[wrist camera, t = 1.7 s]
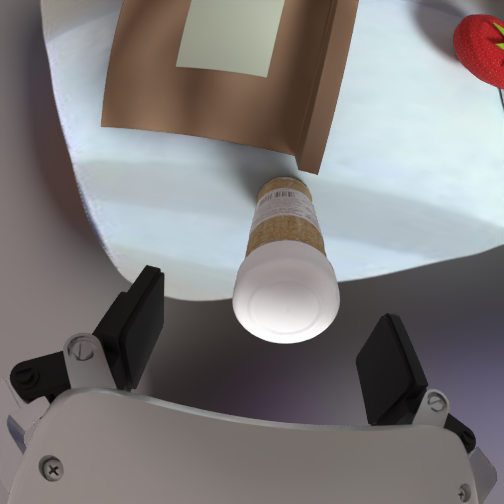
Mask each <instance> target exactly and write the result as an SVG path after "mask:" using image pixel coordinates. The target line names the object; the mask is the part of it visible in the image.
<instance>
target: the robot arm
mask: <svg viewBox="0 0 504 504" xmlns="http://www.w3.org/2000/svg"><path fill="white" fill-rule="evenodd" d="M501 93H502V98H503V103H504V90H503V89H501ZM163 323H164V273H162V272H161V270H160V268H157V267H153V266H148V265H146V266H145V268H144V269H143V271H142V272H141V273H140V275H139V276H138V278H137V279H136V280H135V282H134V283H133V285H132V286H131V288H130V289H129V290H128V292H121V293H120V294H119V295H118V297H117V298H116V300H115V301H114V302H113V304H112V305H111V307H110V308H109V310H108V311H107V313H106V314H105V315H104V317H103V318H102V320H101V321H100V323H99V324H98V326H97V327H96V329H95V331H94V332H93V333H92V334H89V333H78V334H75V335H73V336H71V337H69V338H68V339H67V340H66V342H65V344H64V346H63V351H60V352H57V353H53V354H49V355H46V356H42V357H39V358H35V359H31V360H27V361H23V362H21V363H18V364H17V365H16V366H15V367H14V368H13V369H12V371H11V374H10V378H9V379H7V380H5V379H4V378H3V379H1V380H0V481H1V482H2V484H3V486H4V487H5V489H6V490H7V492H8V493H9V495H10V496H9V499H8V503H7V504H482V503H483V502H484V500H485V499H486V497H487V496H488V494H489V493H490V491H491V490H492V488H493V487H494V485H495V483H496V481H497V471H496V469H495V468H494V466H493V465H492V464H491V463H490V461H489V460H488V458H487V457H486V456H485V455H484V453H483V452H482V451H481V450H480V448H479V447H476V448H475V444H476V438H475V436H474V434H473V432H472V431H471V430H470V429H469V428H468V427H466V426H465V425H464V424H463V423H461V422H460V421H458V420H457V419H456V418H455V417H453V416H452V415H451V414H449V413H448V412H449V401H448V399H447V398H446V396H445V395H444V394H443V393H442V392H440V391H438V390H436V389H430V390H428V391H427V390H426V387H427V386H428V382H427V380H426V377H425V375H424V372H423V370H422V367H421V365H420V362H419V360H418V357H417V355H416V352H415V350H414V348H413V345H412V343H411V341H410V338H409V336H408V334H407V332H406V330H405V327H404V325H403V323H402V321H401V319H400V317H399V316H398V315H395V314H389V313H387V314H385V315H384V316H382V317H381V318H380V320H379V321H378V323H377V325H376V326H375V328H374V330H373V331H372V333H371V335H370V336H369V338H368V340H367V341H366V343H365V345H364V346H363V348H362V349H361V351H360V353H359V354H358V356H357V358H356V366H357V371H358V375H359V379H360V384H361V389H362V394H363V399H364V403H365V409H366V414H367V420H368V423H369V424H371V426H323V425H305V424H292V423H282V422H273V421H265V420H257V419H250V418H244V417H236V416H231V415H225V414H220V413H215V412H210V411H205V410H201V409H196V408H192V407H187V406H183V405H179V404H175V403H171V402H167V401H163V400H159V399H155V398H152V397H148V396H144V395H140V394H136V393H132V392H131V389H136V388H137V385H138V383H139V381H140V379H141V376H142V374H143V371H144V369H145V367H146V364H147V362H148V359H149V357H150V355H151V353H152V350H153V348H154V346H155V344H156V341H157V339H158V337H159V335H160V332H161V330H162V328H163ZM38 419H41V420H40V421H39V423H38V425H37V427H36V429H35V431H34V433H33V435H32V437H31V439H30V441H29V443H28V445H27V448H26V445H25V444H24V434H25V432H26V431H27V430H28V429H29V428H30V427H32V426H33V425H34V423H33V422H35V421H36V420H38Z"/></svg>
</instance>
